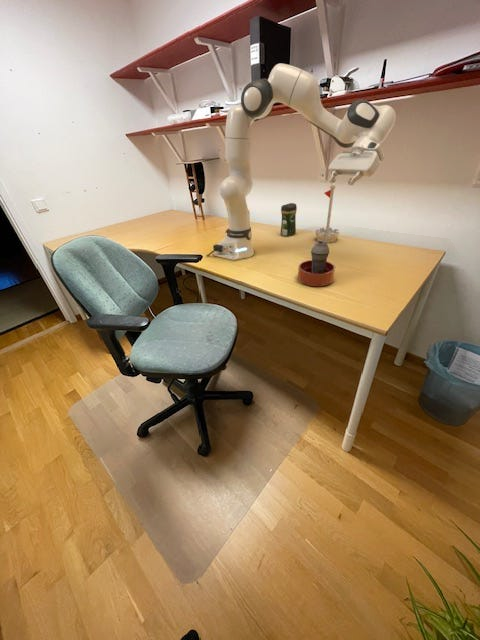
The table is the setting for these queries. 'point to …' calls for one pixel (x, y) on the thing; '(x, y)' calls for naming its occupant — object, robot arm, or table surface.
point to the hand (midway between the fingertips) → (340, 183)
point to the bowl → (312, 278)
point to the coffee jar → (288, 219)
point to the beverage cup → (319, 256)
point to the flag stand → (328, 222)
